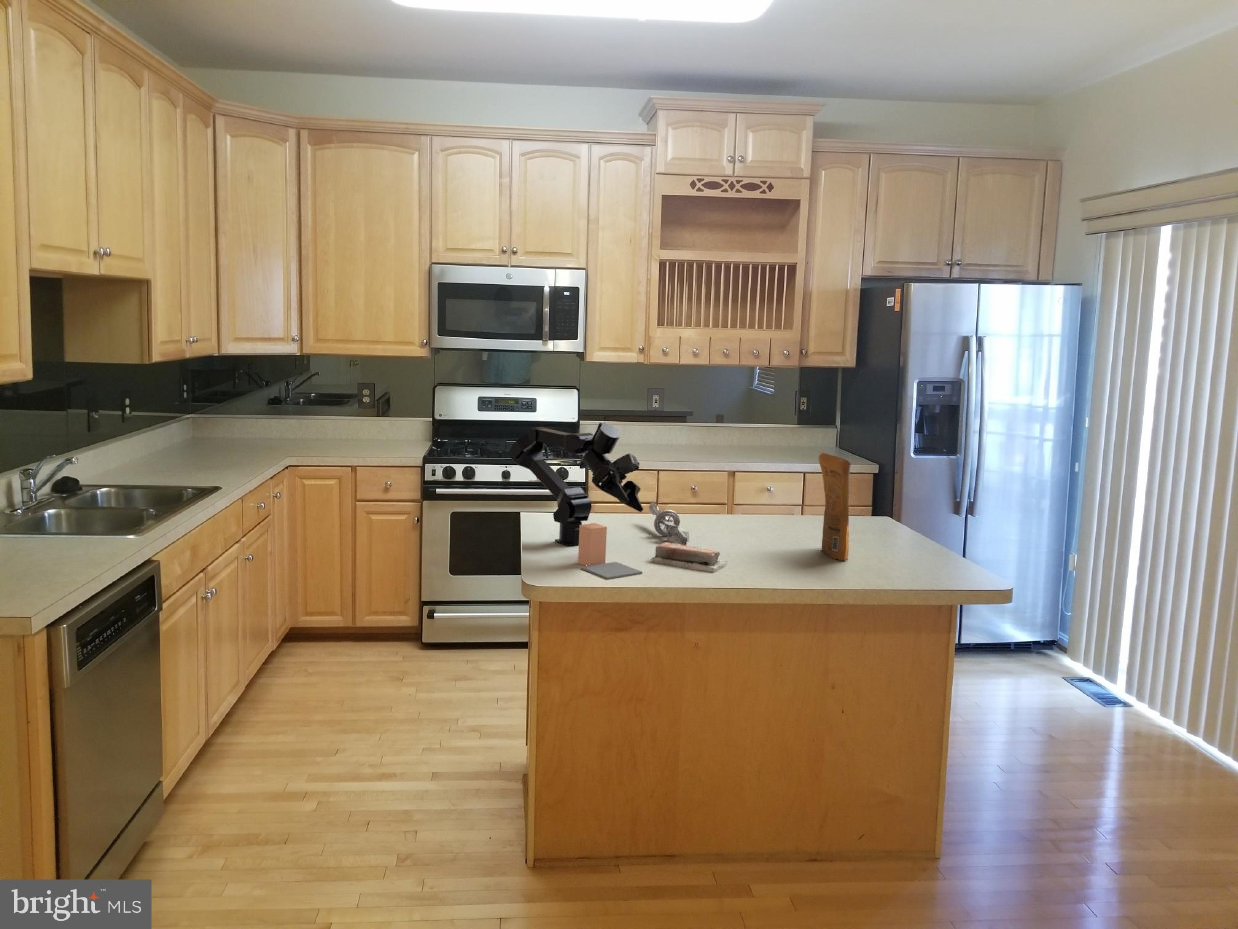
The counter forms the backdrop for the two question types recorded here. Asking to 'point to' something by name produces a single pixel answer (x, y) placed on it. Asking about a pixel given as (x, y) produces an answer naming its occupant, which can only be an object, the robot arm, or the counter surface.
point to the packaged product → (688, 557)
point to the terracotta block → (592, 544)
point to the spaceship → (668, 525)
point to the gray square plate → (611, 570)
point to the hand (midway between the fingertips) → (634, 506)
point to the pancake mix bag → (835, 506)
